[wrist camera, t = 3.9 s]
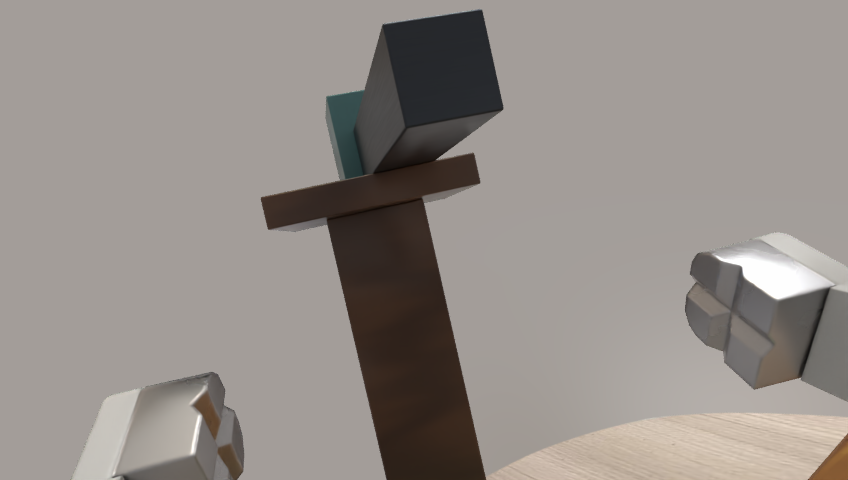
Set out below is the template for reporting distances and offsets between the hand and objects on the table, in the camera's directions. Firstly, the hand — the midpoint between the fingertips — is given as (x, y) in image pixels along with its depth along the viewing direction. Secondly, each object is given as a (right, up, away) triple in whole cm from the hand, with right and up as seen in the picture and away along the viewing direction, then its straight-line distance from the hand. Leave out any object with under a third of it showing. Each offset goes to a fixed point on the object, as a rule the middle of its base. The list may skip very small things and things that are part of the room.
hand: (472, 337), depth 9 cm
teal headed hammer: (-2, +5, +16) cm, 17 cm away
